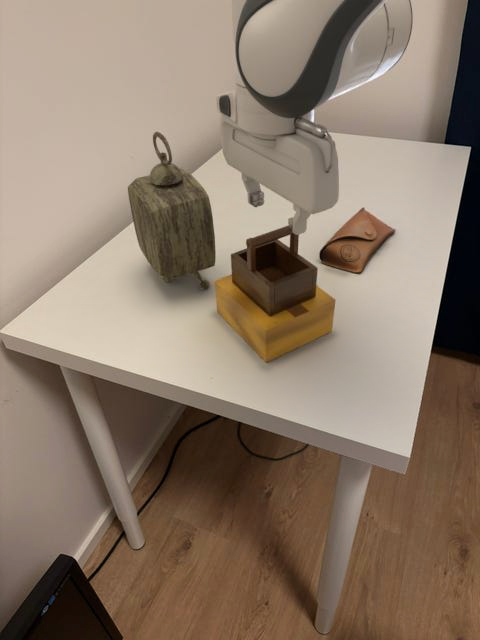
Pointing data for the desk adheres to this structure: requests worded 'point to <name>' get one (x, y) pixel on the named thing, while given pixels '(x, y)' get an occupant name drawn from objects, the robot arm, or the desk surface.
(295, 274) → the basket
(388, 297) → the desk surface
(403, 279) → the desk surface
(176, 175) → the tabletop clock
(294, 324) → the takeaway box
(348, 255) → the sunglasses case
